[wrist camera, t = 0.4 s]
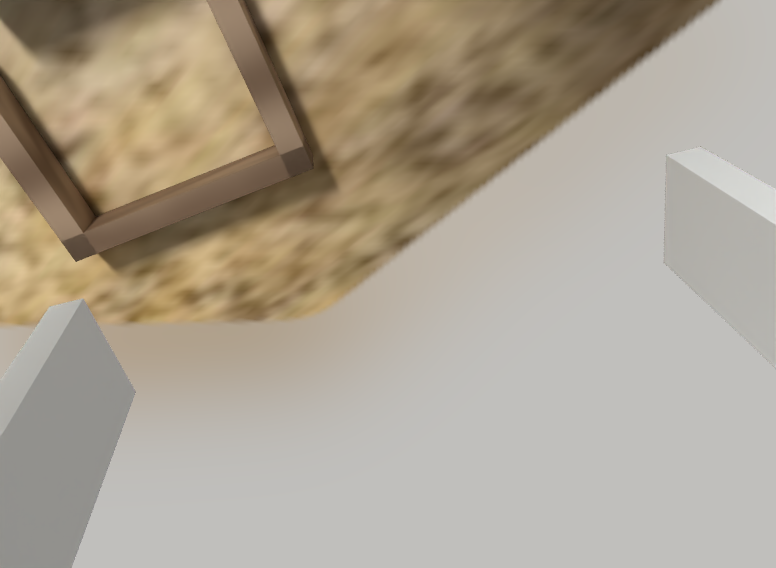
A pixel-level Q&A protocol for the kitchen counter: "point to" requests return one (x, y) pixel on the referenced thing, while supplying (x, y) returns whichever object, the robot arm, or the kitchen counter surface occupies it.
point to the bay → (96, 234)
